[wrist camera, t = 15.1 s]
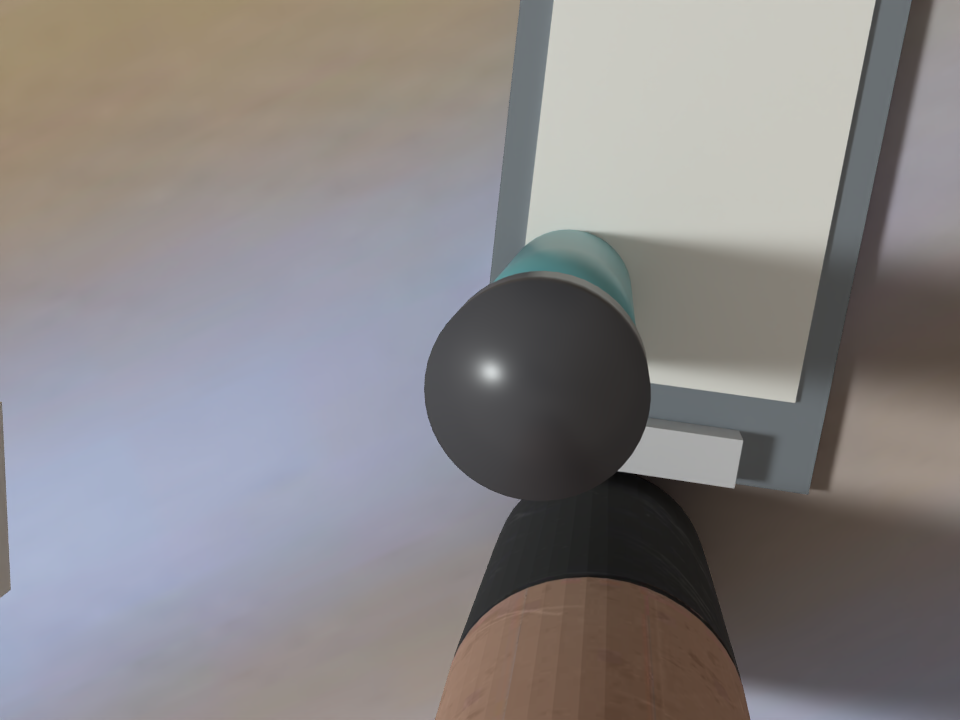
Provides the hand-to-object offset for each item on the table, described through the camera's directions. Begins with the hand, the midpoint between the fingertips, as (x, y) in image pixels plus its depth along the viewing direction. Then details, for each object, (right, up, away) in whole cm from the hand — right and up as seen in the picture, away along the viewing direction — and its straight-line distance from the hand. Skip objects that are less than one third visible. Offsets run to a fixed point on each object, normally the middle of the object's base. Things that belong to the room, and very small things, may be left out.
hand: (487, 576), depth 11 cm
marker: (+3, +5, +18) cm, 18 cm away
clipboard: (+6, +8, +17) cm, 20 cm away
